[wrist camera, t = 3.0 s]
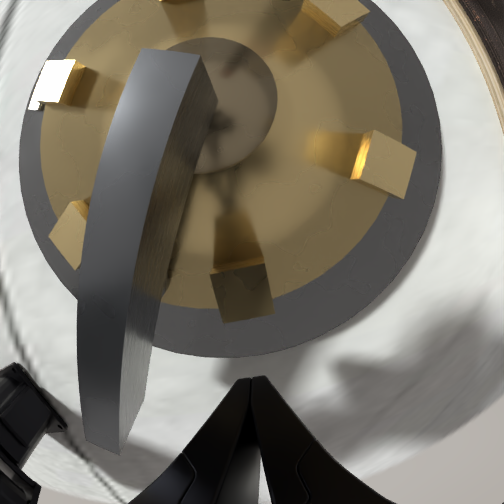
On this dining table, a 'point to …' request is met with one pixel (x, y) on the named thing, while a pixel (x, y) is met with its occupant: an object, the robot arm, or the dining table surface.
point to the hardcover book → (484, 41)
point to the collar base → (316, 291)
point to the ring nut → (209, 169)
